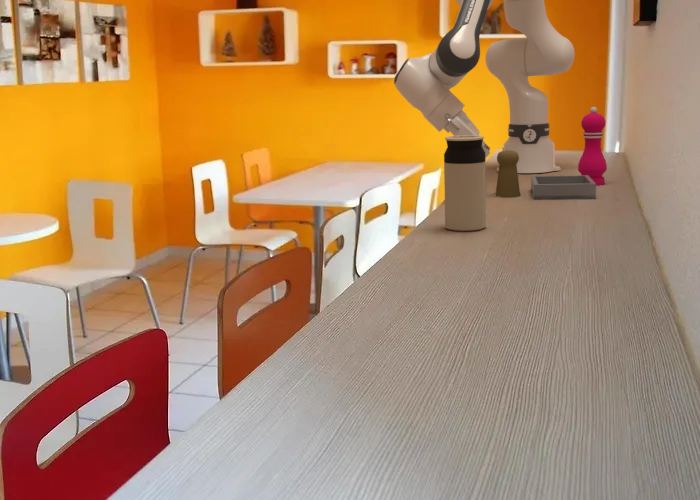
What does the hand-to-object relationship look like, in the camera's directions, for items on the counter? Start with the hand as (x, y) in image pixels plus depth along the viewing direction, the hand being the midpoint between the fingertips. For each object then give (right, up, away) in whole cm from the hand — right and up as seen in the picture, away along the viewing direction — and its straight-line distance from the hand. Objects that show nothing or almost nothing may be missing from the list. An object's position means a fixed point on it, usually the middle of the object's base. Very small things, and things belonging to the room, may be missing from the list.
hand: (488, 153), depth 198 cm
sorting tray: (+18, -10, 0) cm, 21 cm away
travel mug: (-11, -19, -37) cm, 44 cm away
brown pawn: (+5, -10, +1) cm, 12 cm away
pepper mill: (+30, -6, +15) cm, 34 cm away
